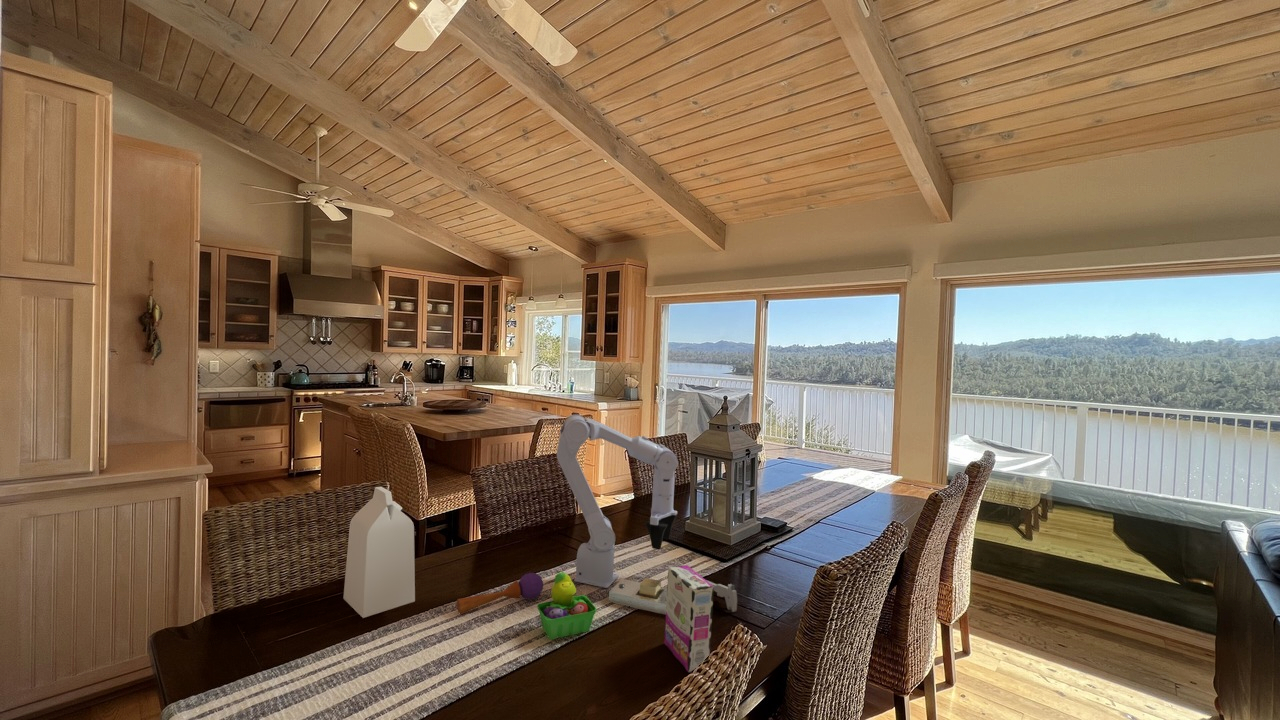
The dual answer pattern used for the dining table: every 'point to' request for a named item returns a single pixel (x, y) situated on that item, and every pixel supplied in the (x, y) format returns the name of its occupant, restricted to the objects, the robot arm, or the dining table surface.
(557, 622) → the fruit basket
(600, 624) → the dining table surface
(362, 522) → the milk
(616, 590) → the white slotted plate
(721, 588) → the caliper
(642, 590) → the block
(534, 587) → the purple maraca
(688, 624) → the candy bar box
